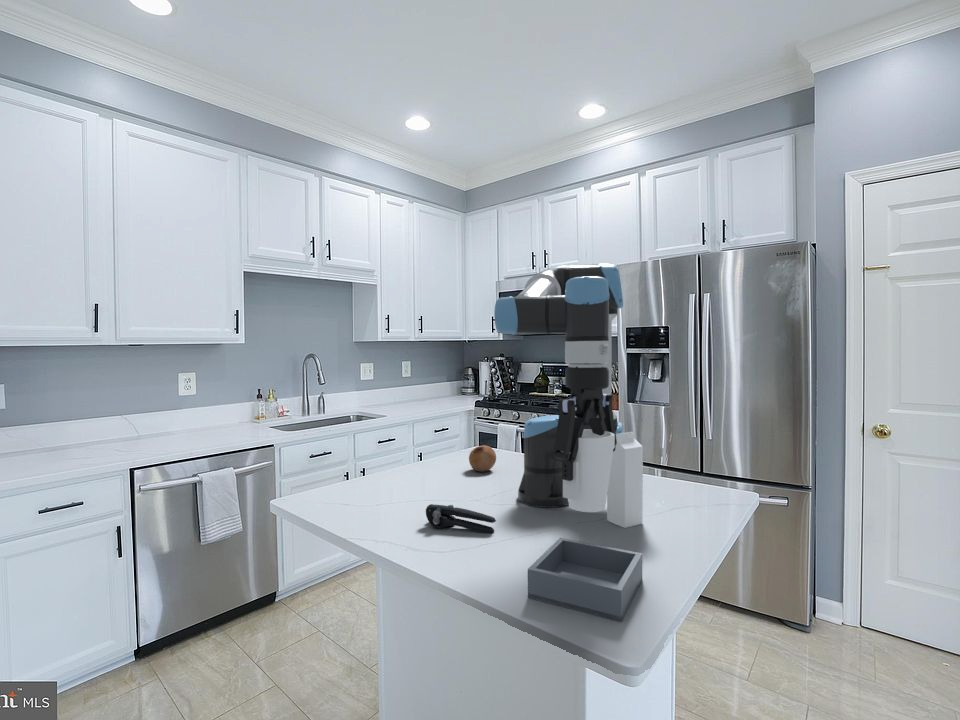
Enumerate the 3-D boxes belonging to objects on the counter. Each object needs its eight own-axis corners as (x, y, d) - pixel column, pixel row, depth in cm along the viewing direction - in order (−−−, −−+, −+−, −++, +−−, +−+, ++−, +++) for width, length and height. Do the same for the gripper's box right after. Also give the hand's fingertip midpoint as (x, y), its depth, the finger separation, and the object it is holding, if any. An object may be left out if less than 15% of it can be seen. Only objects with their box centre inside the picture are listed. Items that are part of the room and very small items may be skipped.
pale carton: (642, 524, 123) (643, 433, 122) (624, 528, 120) (625, 435, 119) (624, 516, 128) (625, 429, 127) (606, 520, 125) (607, 431, 124)
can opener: (420, 529, 121) (419, 506, 120) (433, 519, 127) (432, 497, 127) (490, 539, 114) (489, 514, 114) (500, 528, 121) (499, 505, 121)
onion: (480, 482, 171) (473, 458, 167) (467, 469, 179) (461, 446, 175) (503, 469, 175) (498, 446, 170) (490, 457, 183) (484, 434, 178)
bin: (527, 597, 87) (527, 569, 87) (560, 562, 101) (559, 537, 101) (621, 621, 80) (621, 590, 80) (642, 580, 94) (642, 553, 93)
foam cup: (559, 513, 86) (559, 437, 86) (560, 497, 95) (560, 428, 95) (616, 516, 85) (616, 439, 84) (612, 499, 94) (612, 429, 93)
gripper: (568, 368, 79) (569, 511, 79) (636, 364, 95) (636, 483, 95) (530, 367, 84) (531, 501, 85) (600, 363, 100) (600, 476, 100)
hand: (586, 492), depth 90 cm, fingers closed on foam cup, 9 cm apart
